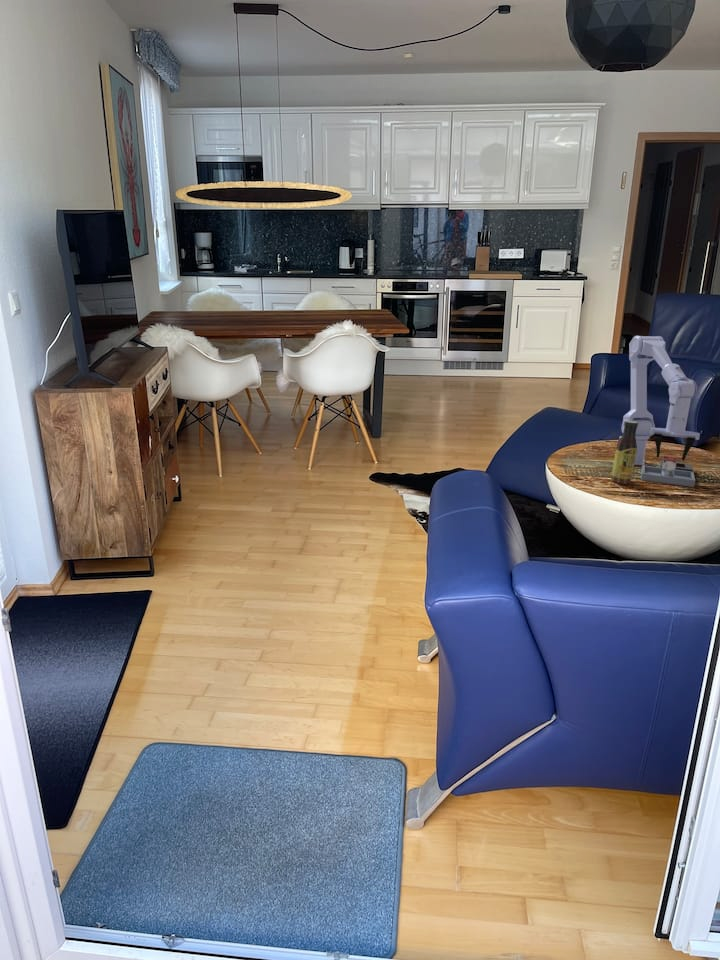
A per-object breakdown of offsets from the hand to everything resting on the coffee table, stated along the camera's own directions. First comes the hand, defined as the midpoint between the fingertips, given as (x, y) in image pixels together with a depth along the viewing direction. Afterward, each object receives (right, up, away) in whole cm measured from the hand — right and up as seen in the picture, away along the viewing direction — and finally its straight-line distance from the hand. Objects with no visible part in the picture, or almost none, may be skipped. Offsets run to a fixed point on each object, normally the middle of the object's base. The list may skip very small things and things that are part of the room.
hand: (670, 458), depth 236 cm
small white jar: (0, -6, +2) cm, 7 cm away
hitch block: (+6, -4, +11) cm, 13 cm away
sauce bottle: (-17, -8, -3) cm, 19 cm away
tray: (0, -7, +2) cm, 7 cm away
